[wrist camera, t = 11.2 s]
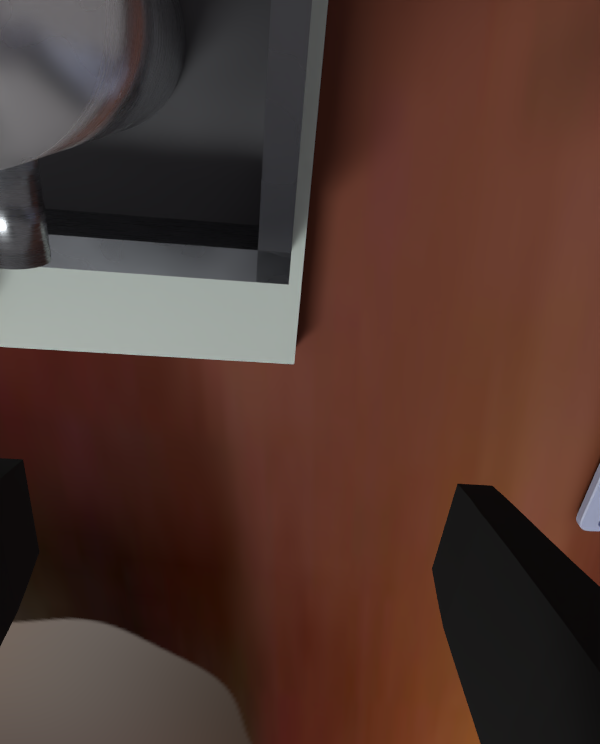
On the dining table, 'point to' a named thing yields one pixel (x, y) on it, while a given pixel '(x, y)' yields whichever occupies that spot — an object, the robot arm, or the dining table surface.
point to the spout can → (73, 94)
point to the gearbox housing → (188, 204)
